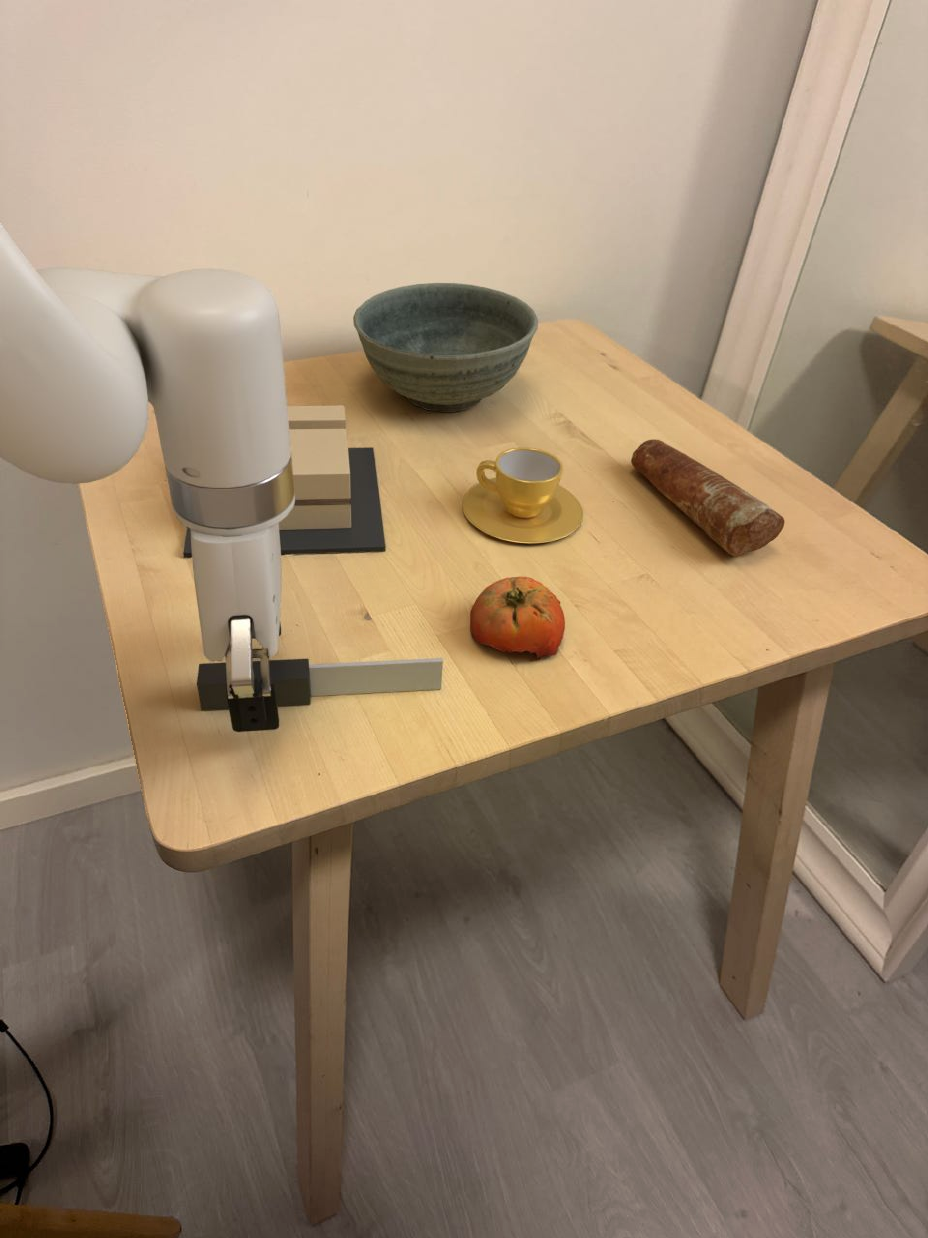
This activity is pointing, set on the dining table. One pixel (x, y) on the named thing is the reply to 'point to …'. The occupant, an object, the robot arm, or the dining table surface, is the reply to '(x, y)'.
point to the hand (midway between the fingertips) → (258, 679)
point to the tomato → (518, 617)
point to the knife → (324, 679)
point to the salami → (708, 498)
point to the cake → (329, 497)
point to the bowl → (445, 341)
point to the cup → (522, 498)
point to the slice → (316, 417)
